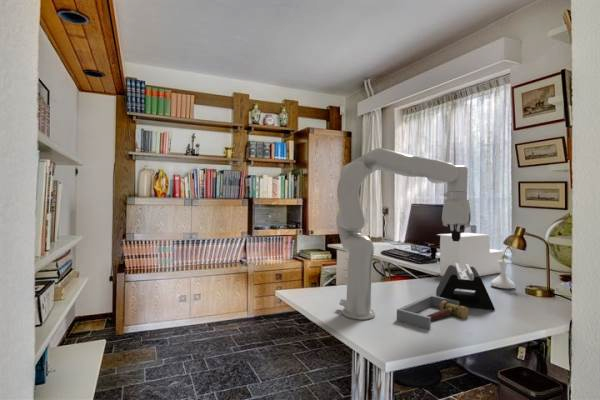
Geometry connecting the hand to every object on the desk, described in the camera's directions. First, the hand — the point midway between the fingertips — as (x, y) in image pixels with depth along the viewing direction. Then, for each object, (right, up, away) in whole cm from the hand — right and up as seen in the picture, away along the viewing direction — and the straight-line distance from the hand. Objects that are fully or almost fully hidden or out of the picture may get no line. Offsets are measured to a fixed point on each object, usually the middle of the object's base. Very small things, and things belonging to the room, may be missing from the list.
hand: (455, 240), depth 141 cm
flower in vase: (+44, -30, +41) cm, 67 cm away
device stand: (+11, -30, +17) cm, 36 cm away
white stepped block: (+42, -29, +75) cm, 90 cm away
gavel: (-9, -30, -7) cm, 32 cm away
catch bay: (-13, -29, -5) cm, 32 cm away
